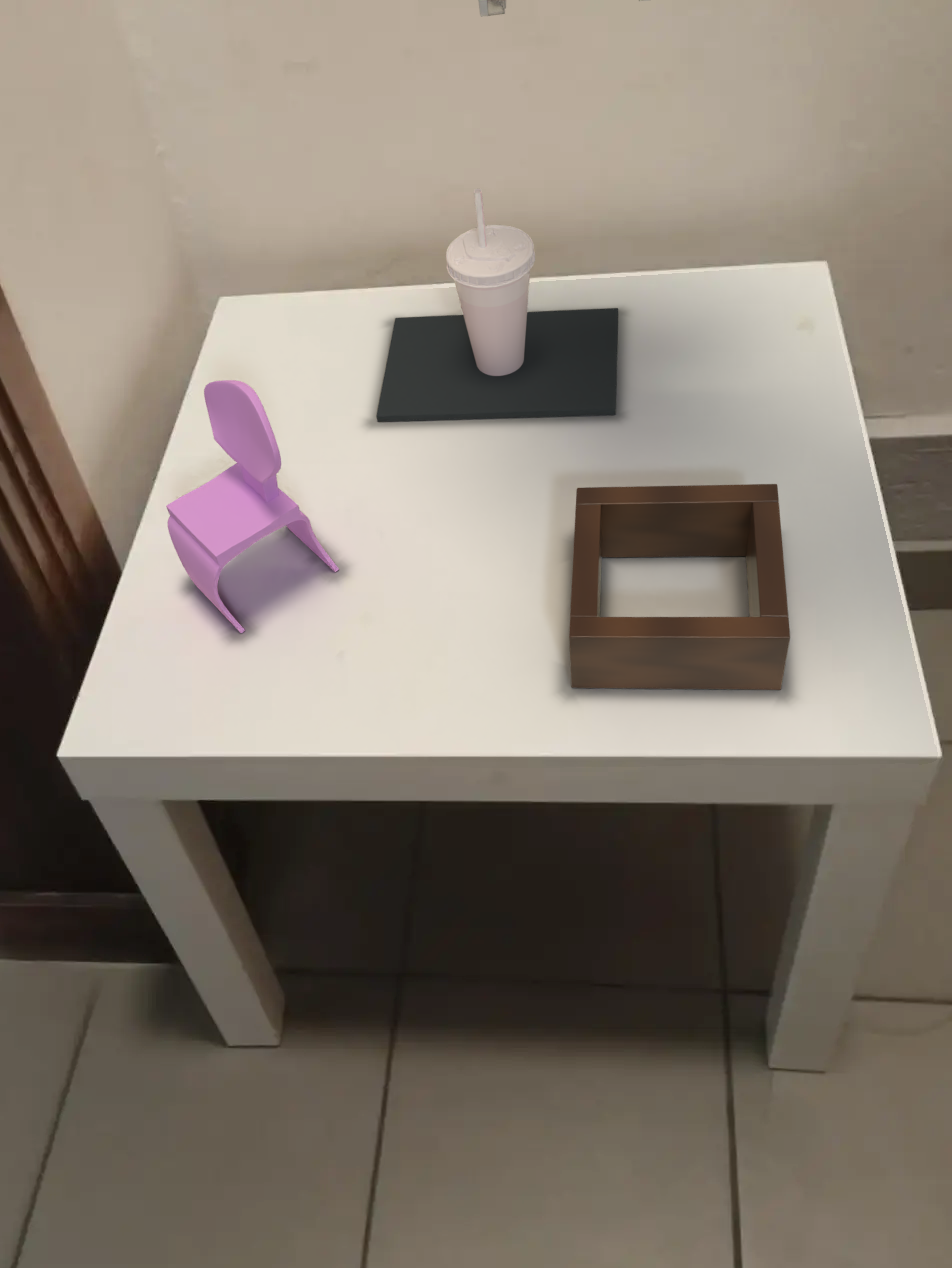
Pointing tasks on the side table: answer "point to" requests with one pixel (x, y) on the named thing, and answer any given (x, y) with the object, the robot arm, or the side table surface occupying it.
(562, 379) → the mat
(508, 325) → the smoothie
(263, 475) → the toy chair
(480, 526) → the side table surface
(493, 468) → the side table surface
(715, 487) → the crate
